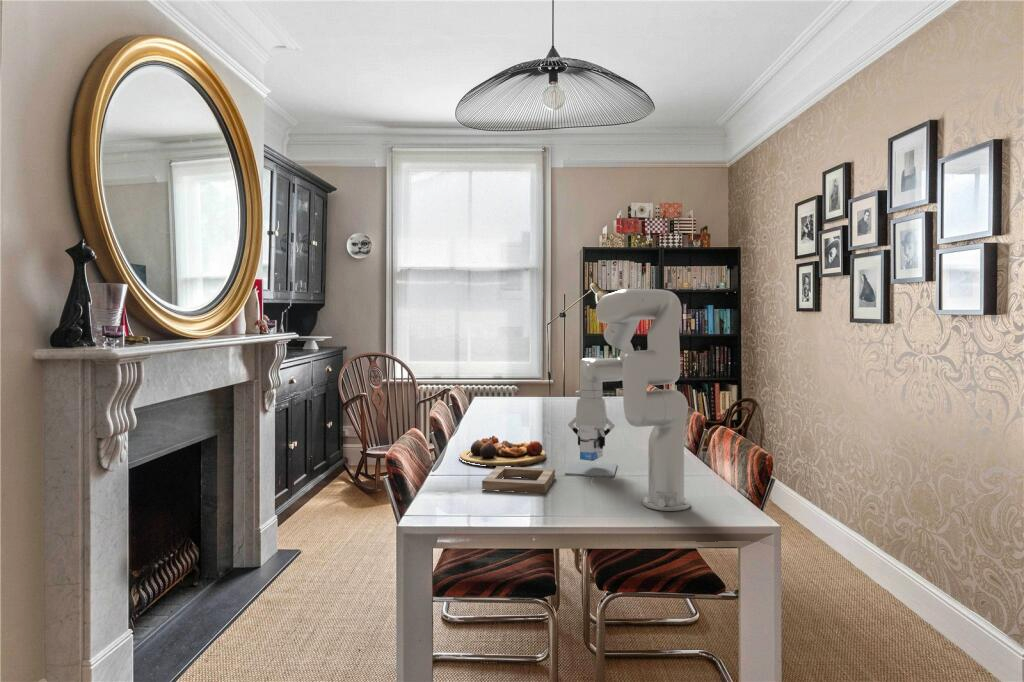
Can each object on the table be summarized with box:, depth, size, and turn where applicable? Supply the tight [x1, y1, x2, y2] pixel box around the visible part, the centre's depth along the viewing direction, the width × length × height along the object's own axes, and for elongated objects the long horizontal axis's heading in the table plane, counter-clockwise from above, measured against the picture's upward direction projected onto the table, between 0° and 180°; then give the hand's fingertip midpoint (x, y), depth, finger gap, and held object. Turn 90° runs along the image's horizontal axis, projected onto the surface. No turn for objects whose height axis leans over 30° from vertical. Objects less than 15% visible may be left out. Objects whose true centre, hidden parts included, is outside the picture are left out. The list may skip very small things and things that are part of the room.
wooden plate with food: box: [459, 435, 547, 467], centre depth 235 cm, size 32×32×8 cm
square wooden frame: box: [481, 466, 556, 495], centre depth 198 cm, size 19×19×3 cm
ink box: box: [579, 424, 604, 462], centre depth 215 cm, size 8×5×12 cm, turn 148°
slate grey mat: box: [564, 461, 618, 478], centre depth 215 cm, size 16×16×1 cm
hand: (591, 447), depth 215 cm, fingers closed on ink box, 6 cm apart
